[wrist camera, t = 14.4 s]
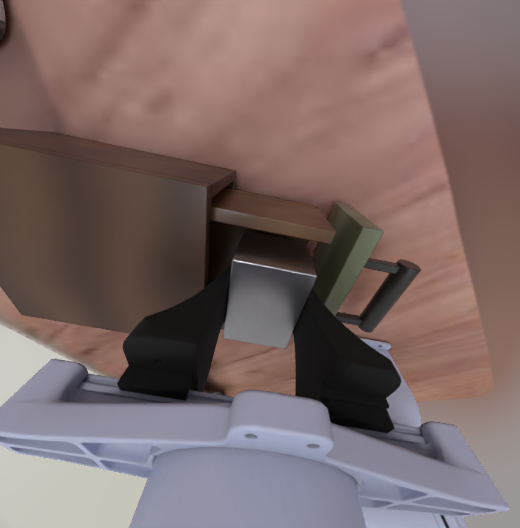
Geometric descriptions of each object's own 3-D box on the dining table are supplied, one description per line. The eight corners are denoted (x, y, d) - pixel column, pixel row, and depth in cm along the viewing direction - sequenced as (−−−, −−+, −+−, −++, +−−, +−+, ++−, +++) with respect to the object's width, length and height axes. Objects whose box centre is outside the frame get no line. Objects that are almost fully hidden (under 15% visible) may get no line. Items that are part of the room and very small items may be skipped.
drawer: (405, 216, 15) (468, 248, 10) (345, 312, 21) (367, 361, 16) (181, 169, 14) (132, 179, 9) (185, 282, 20) (157, 324, 15)
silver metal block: (243, 230, 13) (232, 259, 9) (306, 242, 13) (317, 276, 9) (233, 298, 16) (222, 338, 13) (283, 307, 16) (285, 349, 13)
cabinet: (236, 170, 15) (207, 186, 8) (224, 288, 21) (203, 346, 15) (51, 131, 14) (-125, 118, 8) (97, 264, 21) (21, 315, 14)
